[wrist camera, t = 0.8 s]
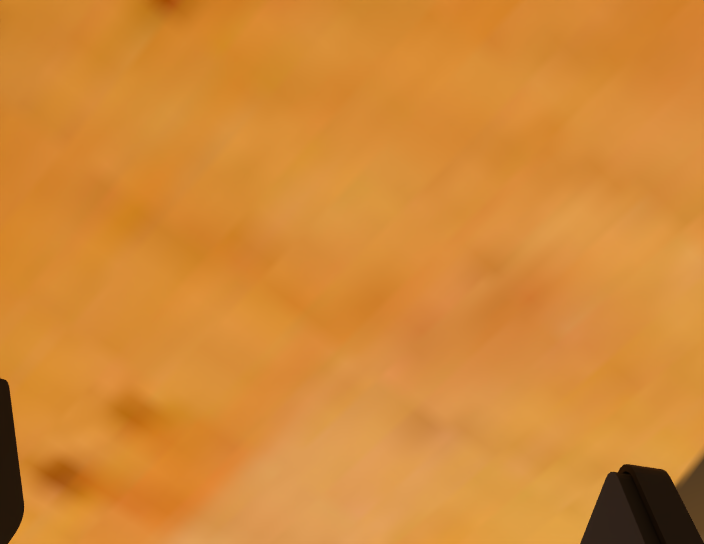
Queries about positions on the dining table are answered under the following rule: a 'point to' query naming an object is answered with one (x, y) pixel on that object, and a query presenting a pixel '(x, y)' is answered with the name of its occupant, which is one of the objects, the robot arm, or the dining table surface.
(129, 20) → the dining table surface
